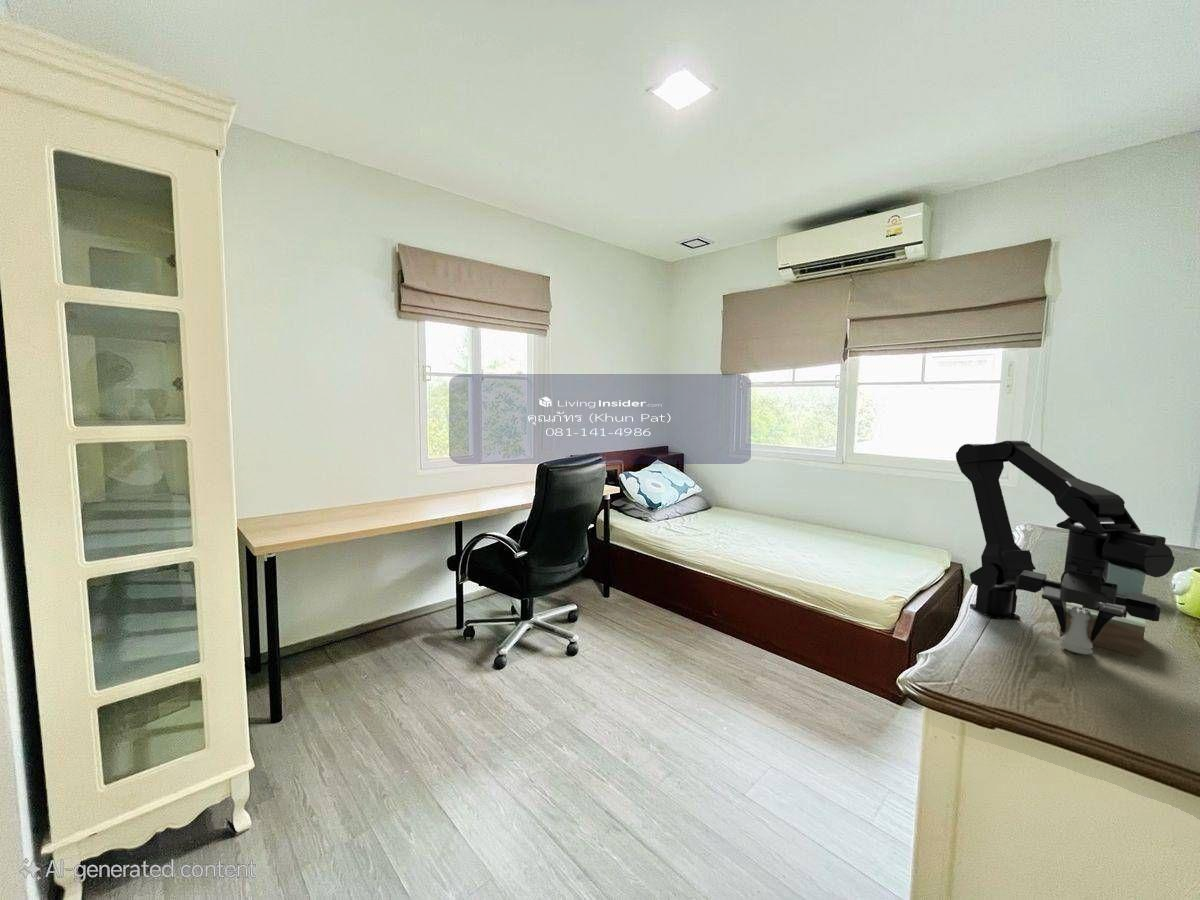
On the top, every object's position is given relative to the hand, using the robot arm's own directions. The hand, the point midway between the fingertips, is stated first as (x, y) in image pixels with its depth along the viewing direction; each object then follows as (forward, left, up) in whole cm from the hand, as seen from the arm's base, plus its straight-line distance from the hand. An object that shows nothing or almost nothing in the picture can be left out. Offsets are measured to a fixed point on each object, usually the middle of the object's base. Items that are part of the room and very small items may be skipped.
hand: (1077, 636), depth 89 cm
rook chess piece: (0, 0, -3) cm, 3 cm away
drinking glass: (+42, +32, -3) cm, 53 cm away
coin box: (+12, +6, -3) cm, 14 cm away
